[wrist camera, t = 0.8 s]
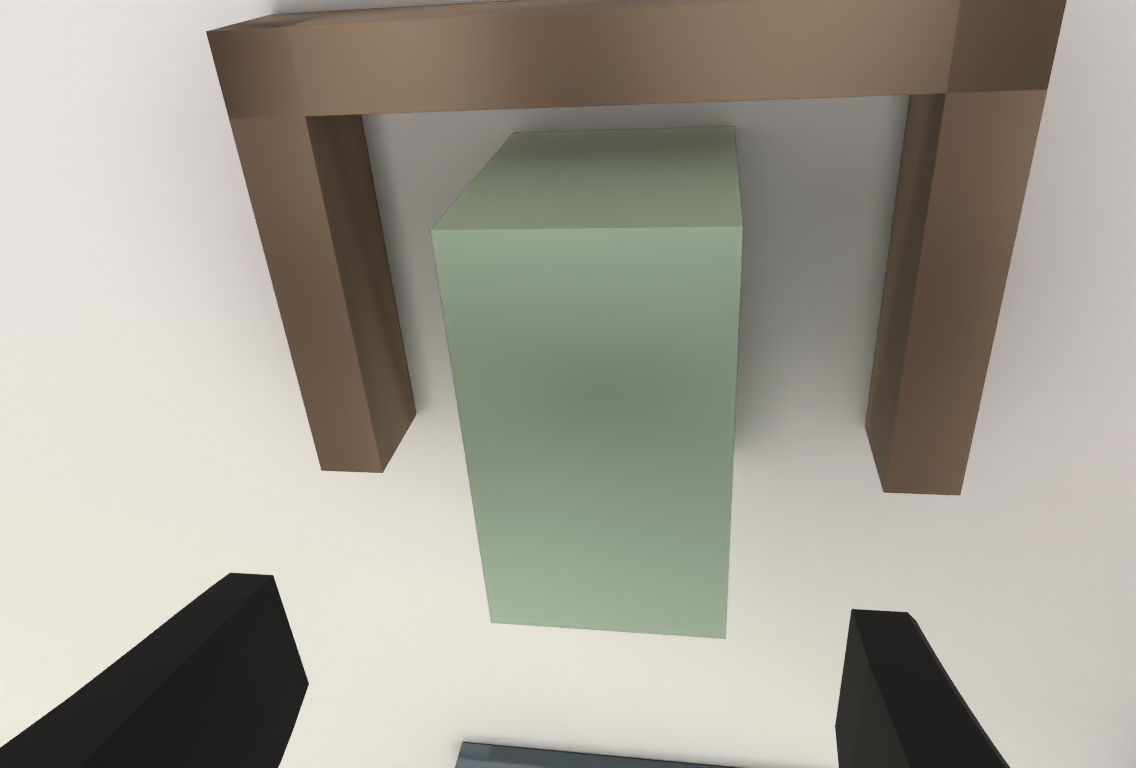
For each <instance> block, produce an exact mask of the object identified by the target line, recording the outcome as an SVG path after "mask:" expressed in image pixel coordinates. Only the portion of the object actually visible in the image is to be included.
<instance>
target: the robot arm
mask: <svg viewBox="0 0 1136 768" xmlns="http://www.w3.org/2000/svg"><path fill="white" fill-rule="evenodd" d="M308 685H309V683H308V680H307V677H306V674H305V671H304V668H303V665H302V662H301V659H300V656H299V653H298V649H297V646H296V643H295V640H294V637H293V634H292V631H291V628H290V625H289V622H288V619H287V616H286V613H285V610H284V607H283V604H282V601H281V598H280V595H279V592H278V589H277V586H276V583H275V580H274V576H273V575H259V574H242V573H229V574H228V575H227V576H225V577H224V578H222V579H221V580H220V581H218V582H217V583H216V584H214V585H213V586H211V587H210V588H209V589H208V590H206V591H205V592H204V593H202V594H201V595H200V596H198V597H197V598H196V599H195V600H193V601H192V602H191V603H189V604H188V605H187V606H186V607H184V608H183V609H182V610H180V611H179V612H178V613H177V614H175V615H174V616H173V617H172V618H170V619H169V620H168V621H167V622H165V623H164V624H163V625H161V626H160V627H159V628H158V629H156V630H155V631H154V632H153V633H151V634H150V635H149V636H148V637H146V638H145V639H144V640H143V641H141V642H140V643H139V644H137V645H136V646H135V647H134V648H132V649H131V650H130V651H129V652H127V653H126V654H125V655H123V656H122V657H121V658H120V659H118V660H117V661H116V662H114V663H113V664H112V665H111V666H109V667H108V668H107V669H105V670H104V671H103V672H102V673H100V674H99V675H98V676H96V677H95V678H94V679H93V680H91V681H90V682H89V683H87V684H86V685H85V686H84V687H82V688H81V689H80V690H78V691H77V692H76V693H75V694H73V695H72V696H71V697H69V698H68V699H67V700H65V701H64V702H63V703H61V704H60V705H58V706H57V707H56V708H54V709H53V710H52V711H50V712H49V713H47V714H46V715H45V716H43V717H42V718H41V719H39V720H38V721H36V722H35V723H34V724H32V725H31V726H30V727H28V728H27V729H25V730H24V731H23V732H21V733H20V734H19V735H17V736H16V737H14V738H13V739H12V740H10V741H9V742H8V743H6V744H5V745H3V746H2V747H1V748H0V768H278V766H279V764H280V762H281V760H282V757H283V755H284V752H285V749H286V747H287V744H288V741H289V739H290V736H291V734H292V731H293V728H294V726H295V723H296V720H297V717H298V714H299V711H300V708H301V705H302V702H303V699H304V696H305V693H306V691H307V688H308ZM835 729H836V740H837V751H838V762H839V768H1010V767H1009V765H1008V764H1007V763H1006V761H1005V760H1004V758H1003V757H1002V756H1001V754H1000V753H999V751H998V750H997V748H996V747H995V746H994V744H993V743H992V741H991V740H990V738H989V737H988V735H987V734H986V732H985V731H984V729H983V728H982V726H981V725H980V723H979V722H978V720H977V719H976V717H975V716H974V714H973V713H972V711H971V710H970V708H969V707H968V705H967V704H966V702H965V701H964V699H963V697H962V696H961V694H960V693H959V691H958V690H957V688H956V687H955V685H954V683H953V682H952V680H951V679H950V677H949V675H948V674H947V672H946V671H945V669H944V667H943V666H942V664H941V663H940V661H939V659H938V658H937V656H936V654H935V653H934V651H933V649H932V648H931V646H930V644H929V642H928V641H927V639H926V637H925V636H924V634H923V632H922V630H921V629H920V627H919V625H918V623H917V622H916V620H915V619H914V618H913V617H912V616H911V615H910V614H909V613H908V612H892V611H875V610H858V609H852V610H851V617H850V624H849V632H848V639H847V646H846V653H845V660H844V667H843V675H842V682H841V689H840V696H839V703H838V711H837V718H836V725H835Z"/></svg>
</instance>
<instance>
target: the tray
mask: <svg viewBox="0 0 1136 768" xmlns="http://www.w3.org/2000/svg"><path fill="white" fill-rule="evenodd" d="M455 768H728V767H717V766H707V765H696V764H685V763H675V762H664V761H653V760H642V759H632V758H621V757H610V756H600V755H589V754H578V753H568V752H557V751H546V750H536V749H525V748H514V747H503V746H493V745H482V744H471V743H462V746H461V749H460V753H459V756H458V760H457V763H456V766H455Z"/></svg>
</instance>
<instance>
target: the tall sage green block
mask: <svg viewBox="0 0 1136 768" xmlns="http://www.w3.org/2000/svg"><path fill="white" fill-rule="evenodd" d="M430 231H431V238H432V244H433V251H434V257H435V264H436V270H437V277H438V283H439V290H440V296H441V302H442V309H443V315H444V322H445V328H446V335H447V341H448V348H449V354H450V361H451V367H452V374H453V380H454V386H455V393H456V399H457V406H458V412H459V419H460V425H461V432H462V438H463V445H464V451H465V458H466V464H467V471H468V477H469V483H470V490H471V496H472V503H473V509H474V516H475V522H476V529H477V535H478V542H479V548H480V555H481V561H482V567H483V574H484V580H485V587H486V593H487V600H488V606H489V613H490V619H491V623H502V624H516V625H531V626H545V627H560V628H575V629H589V630H604V631H618V632H633V633H648V634H662V635H677V636H692V637H706V638H721V639H726V619H727V595H728V571H729V548H730V524H731V500H732V477H733V453H734V429H735V405H736V382H737V358H738V334H739V311H740V287H741V263H742V239H743V221H742V210H741V198H740V187H739V176H738V165H737V154H736V143H735V132H734V126H719V127H686V128H654V129H622V130H589V131H557V132H525V133H513V134H512V135H511V136H510V138H509V139H508V140H507V141H506V142H505V143H504V145H503V146H502V147H501V148H500V149H499V150H498V152H497V153H496V154H495V155H494V156H493V157H492V159H491V160H490V161H489V162H488V163H487V164H486V166H485V167H484V168H483V169H482V170H481V171H480V173H479V174H478V175H477V176H476V177H475V179H474V180H473V181H472V182H471V183H470V184H469V186H468V187H467V188H466V189H465V190H464V191H463V193H462V194H461V195H460V196H459V197H458V198H457V200H456V201H455V202H454V203H453V204H452V205H451V207H450V208H449V209H448V210H447V211H446V212H445V214H444V215H443V216H442V217H441V218H440V220H439V221H438V222H437V223H436V224H435V225H434V227H433V228H432V229H431V230H430Z"/></svg>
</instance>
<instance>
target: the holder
mask: <svg viewBox="0 0 1136 768" xmlns="http://www.w3.org/2000/svg"><path fill="white" fill-rule="evenodd" d="M1065 4H1066V0H516V1H499V2H481V3H464V4H447V5H429V6H412V7H395V8H377V9H360V10H343V11H325V12H308V13H291V14H273V15H268V16H264V17H260V18H256V19H253V20H249V21H245V22H241V23H237V24H233V25H230V26H226V27H222V28H218V29H214V30H210V31H207V32H206V33H207V36H208V40H209V44H210V48H211V52H212V56H213V59H214V63H215V67H216V71H217V75H218V78H219V82H220V86H221V90H222V94H223V97H224V101H225V105H226V109H227V113H228V116H229V120H230V124H231V128H232V132H233V135H234V139H235V143H236V147H237V151H238V154H239V158H240V162H241V166H242V170H243V173H244V177H245V181H246V185H247V189H248V192H249V196H250V200H251V204H252V208H253V212H254V215H255V219H256V223H257V227H258V231H259V234H260V238H261V242H262V246H263V250H264V253H265V257H266V261H267V265H268V269H269V272H270V276H271V280H272V284H273V288H274V291H275V295H276V299H277V303H278V307H279V310H280V314H281V318H282V322H283V326H284V329H285V333H286V337H287V341H288V345H289V348H290V352H291V356H292V360H293V364H294V368H295V371H296V375H297V379H298V383H299V387H300V390H301V394H302V398H303V402H304V406H305V409H306V413H307V417H308V421H309V425H310V428H311V432H312V436H313V440H314V444H315V447H316V451H317V455H318V459H319V463H320V466H321V470H322V471H347V472H373V473H383V471H384V470H385V468H386V466H387V464H388V463H389V461H390V459H391V458H392V456H393V454H394V452H395V451H396V449H397V447H398V445H399V444H400V442H401V440H402V438H403V437H404V435H405V433H406V432H407V430H408V428H409V426H410V425H411V423H412V421H413V419H414V418H415V416H416V412H415V407H414V401H413V396H412V390H411V385H410V380H409V374H408V369H407V363H406V358H405V353H404V347H403V342H402V336H401V331H400V326H399V320H398V315H397V309H396V304H395V299H394V293H393V288H392V282H391V277H390V272H389V266H388V261H387V255H386V250H385V245H384V239H383V234H382V228H381V223H380V218H379V212H378V207H377V201H376V196H375V191H374V185H373V180H372V174H371V169H370V164H369V158H368V153H367V147H366V142H365V137H364V131H363V126H362V120H361V115H360V114H382V113H410V112H438V111H465V110H493V109H521V108H549V107H577V106H605V105H633V104H661V103H689V102H716V101H744V100H772V99H800V98H828V97H856V96H884V95H910V98H909V106H908V113H907V121H906V128H905V135H904V143H903V150H902V157H901V165H900V172H899V180H898V187H897V194H896V202H895V209H894V216H893V224H892V231H891V239H890V246H889V253H888V261H887V268H886V275H885V283H884V290H883V298H882V305H881V312H880V320H879V327H878V334H877V342H876V349H875V356H874V364H873V371H872V379H871V386H870V393H869V401H868V408H867V415H866V423H865V429H866V432H867V436H868V439H869V443H870V446H871V450H872V453H873V457H874V460H875V464H876V467H877V471H878V474H879V478H880V481H881V485H882V488H883V492H886V493H912V494H938V495H960V494H961V489H962V485H963V480H964V475H965V471H966V466H967V461H968V457H969V452H970V447H971V443H972V438H973V433H974V429H975V424H976V419H977V415H978V410H979V405H980V401H981V396H982V391H983V387H984V382H985V377H986V373H987V368H988V363H989V359H990V354H991V349H992V345H993V340H994V335H995V331H996V326H997V321H998V317H999V312H1000V307H1001V303H1002V298H1003V293H1004V289H1005V284H1006V279H1007V275H1008V270H1009V265H1010V261H1011V256H1012V251H1013V247H1014V242H1015V238H1016V233H1017V228H1018V224H1019V219H1020V214H1021V210H1022V205H1023V200H1024V196H1025V191H1026V186H1027V182H1028V177H1029V172H1030V168H1031V163H1032V158H1033V154H1034V149H1035V144H1036V140H1037V135H1038V130H1039V126H1040V121H1041V116H1042V112H1043V107H1044V102H1045V98H1046V93H1047V88H1048V84H1049V79H1050V74H1051V70H1052V65H1053V60H1054V56H1055V51H1056V46H1057V42H1058V37H1059V32H1060V28H1061V23H1062V18H1063V14H1064V9H1065Z"/></svg>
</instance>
